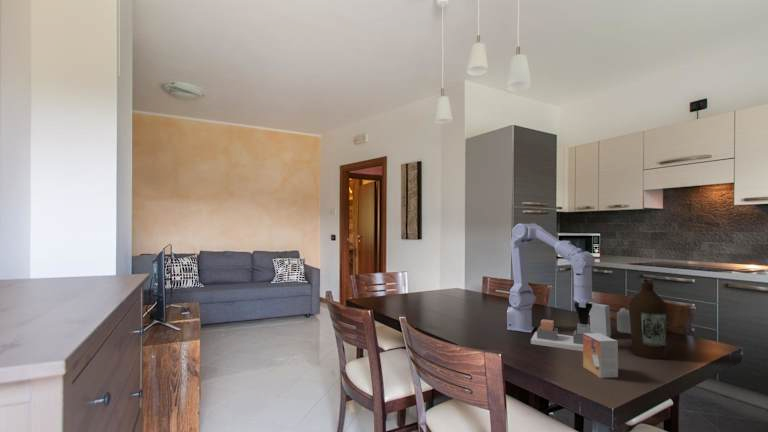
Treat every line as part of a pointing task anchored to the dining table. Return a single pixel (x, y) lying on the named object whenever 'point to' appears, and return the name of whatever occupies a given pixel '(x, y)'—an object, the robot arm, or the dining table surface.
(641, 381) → the dining table surface
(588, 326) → the button grey
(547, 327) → the button terracotta
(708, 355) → the dining table surface
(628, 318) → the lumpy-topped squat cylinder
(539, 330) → the console
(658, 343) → the olive oil
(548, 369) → the dining table surface
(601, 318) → the skincare box
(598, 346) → the small box
